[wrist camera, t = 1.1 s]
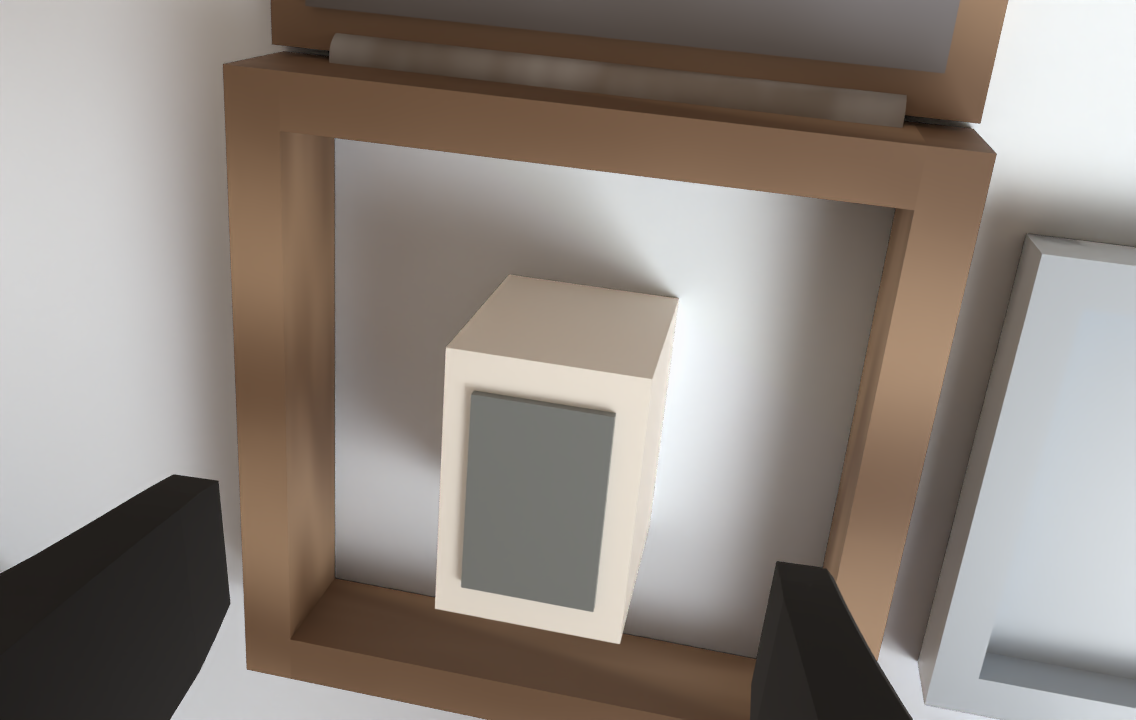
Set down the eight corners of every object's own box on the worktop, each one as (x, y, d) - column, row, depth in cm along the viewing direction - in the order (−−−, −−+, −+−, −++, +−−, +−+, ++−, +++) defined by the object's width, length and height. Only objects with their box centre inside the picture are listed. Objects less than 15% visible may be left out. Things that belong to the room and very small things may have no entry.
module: (650, 524, 27) (618, 650, 22) (495, 496, 27) (432, 614, 23) (679, 297, 24) (651, 383, 20) (509, 273, 25) (442, 351, 20)
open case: (841, 714, 27) (846, 794, 25) (293, 606, 30) (246, 669, 27) (1202, -890, 16) (1279, -1048, 13) (267, -865, 18) (180, -996, 16)
